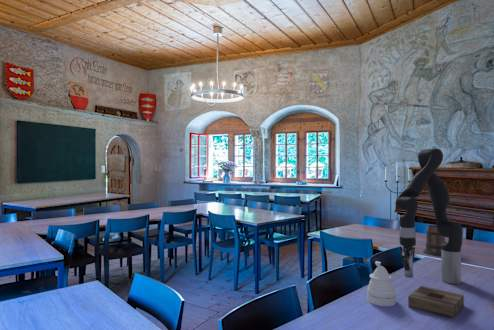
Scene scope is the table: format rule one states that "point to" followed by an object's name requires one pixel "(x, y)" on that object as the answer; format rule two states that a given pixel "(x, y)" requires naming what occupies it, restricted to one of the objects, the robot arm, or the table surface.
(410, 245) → the robot arm
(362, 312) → the table surface
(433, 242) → the tankard
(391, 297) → the honey pot
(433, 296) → the socket block
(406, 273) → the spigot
